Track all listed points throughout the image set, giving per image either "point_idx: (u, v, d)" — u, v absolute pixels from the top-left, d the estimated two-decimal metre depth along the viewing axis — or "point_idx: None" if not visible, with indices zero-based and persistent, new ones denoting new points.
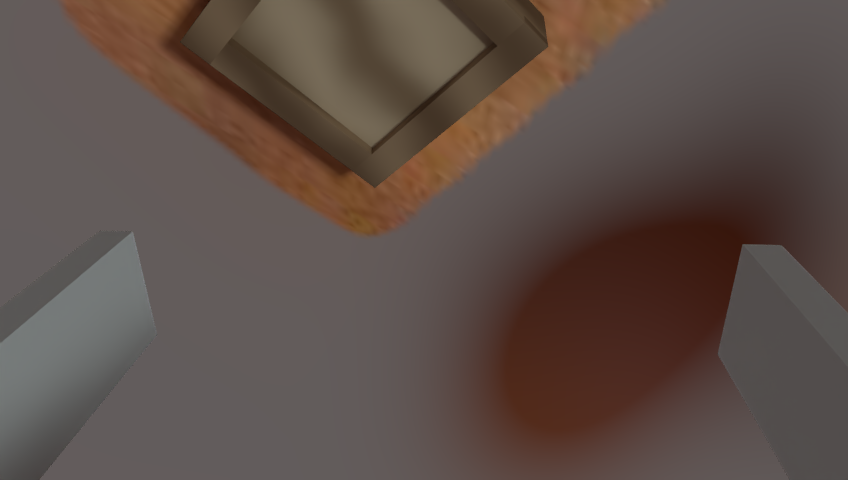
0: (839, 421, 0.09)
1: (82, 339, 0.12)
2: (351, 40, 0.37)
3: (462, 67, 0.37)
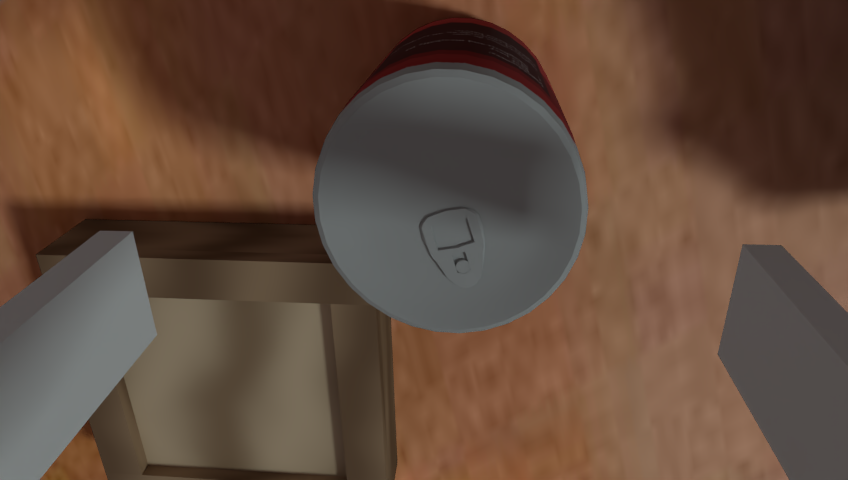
0: (839, 421, 0.09)
1: (82, 339, 0.12)
2: (220, 380, 0.31)
3: (300, 471, 0.33)
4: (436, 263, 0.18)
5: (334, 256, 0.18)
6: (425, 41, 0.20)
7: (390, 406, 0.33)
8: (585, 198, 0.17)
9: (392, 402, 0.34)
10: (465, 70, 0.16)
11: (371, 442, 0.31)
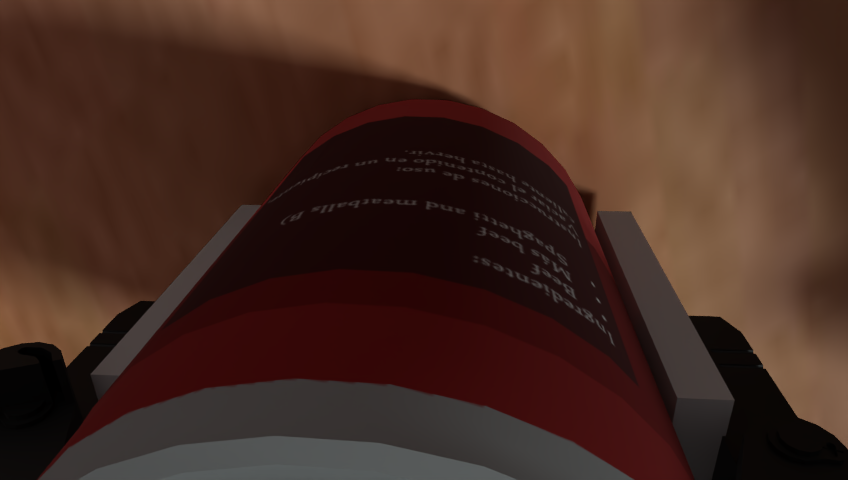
0: None
1: None
2: None
3: None
4: None
5: None
6: (330, 195, 0.09)
7: None
8: None
9: None
10: (386, 444, 0.04)
11: None
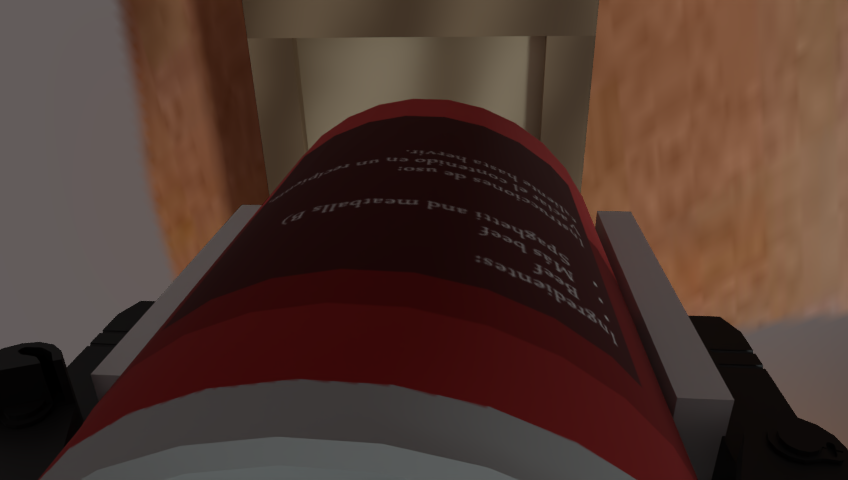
0: None
1: None
2: None
3: None
4: None
5: None
6: (331, 195, 0.09)
7: None
8: None
9: None
10: (389, 445, 0.04)
11: None
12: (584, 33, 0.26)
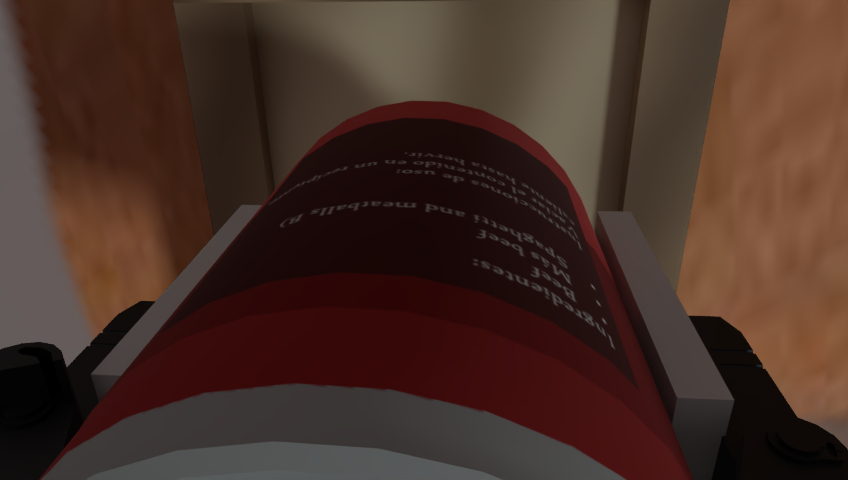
0: None
1: None
2: None
3: None
4: None
5: None
6: (329, 197, 0.09)
7: None
8: None
9: None
10: (385, 450, 0.04)
11: (661, 265, 0.20)
12: None
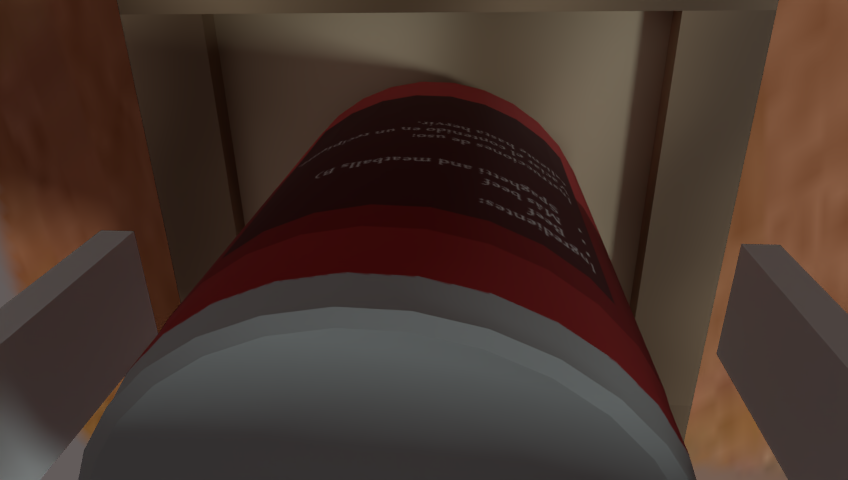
0: (837, 420, 0.09)
1: (83, 339, 0.12)
2: None
3: None
4: None
5: None
6: (356, 155, 0.10)
7: None
8: None
9: None
10: (416, 312, 0.06)
11: (688, 314, 0.17)
12: (755, 5, 0.14)
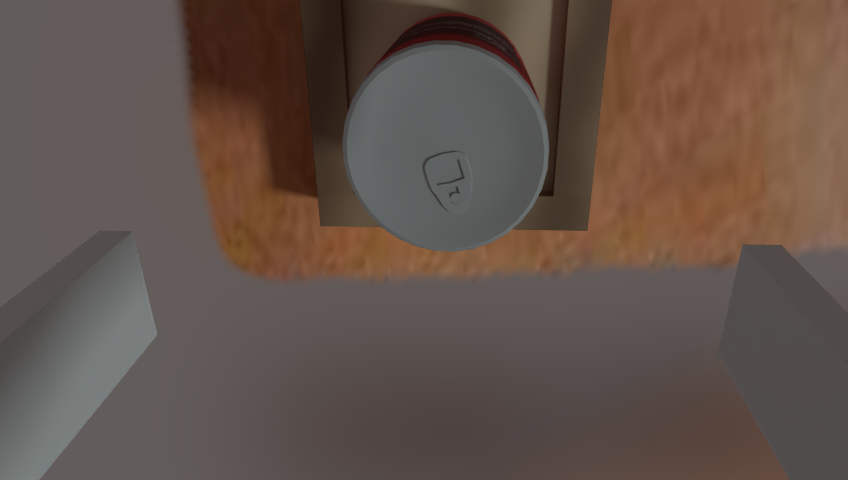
0: (839, 421, 0.09)
1: (82, 339, 0.12)
2: None
3: None
4: (435, 196, 0.24)
5: (358, 190, 0.24)
6: (425, 28, 0.26)
7: None
8: (546, 142, 0.22)
9: None
10: (457, 45, 0.21)
11: (585, 140, 0.33)
12: None
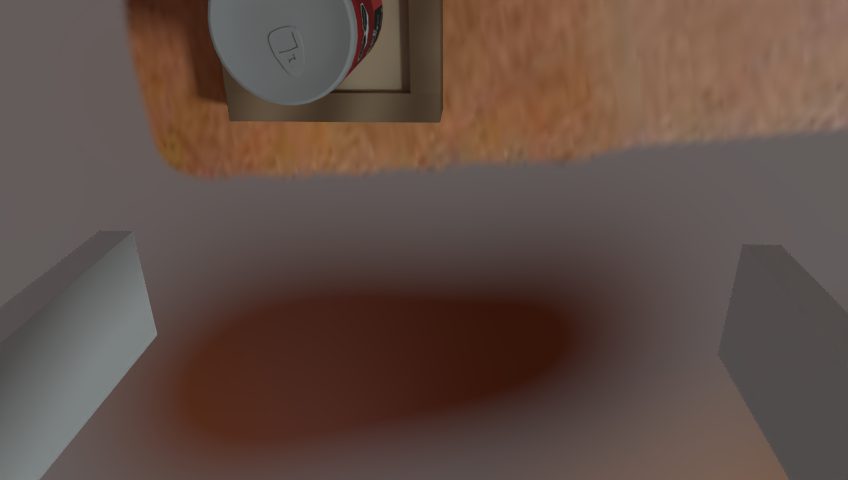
0: (839, 421, 0.09)
1: (82, 339, 0.12)
2: None
3: (373, 89, 0.44)
4: (279, 61, 0.33)
5: (221, 56, 0.33)
6: None
7: (441, 37, 0.44)
8: (351, 17, 0.31)
9: None
10: None
11: (430, 45, 0.42)
12: None
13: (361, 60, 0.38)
